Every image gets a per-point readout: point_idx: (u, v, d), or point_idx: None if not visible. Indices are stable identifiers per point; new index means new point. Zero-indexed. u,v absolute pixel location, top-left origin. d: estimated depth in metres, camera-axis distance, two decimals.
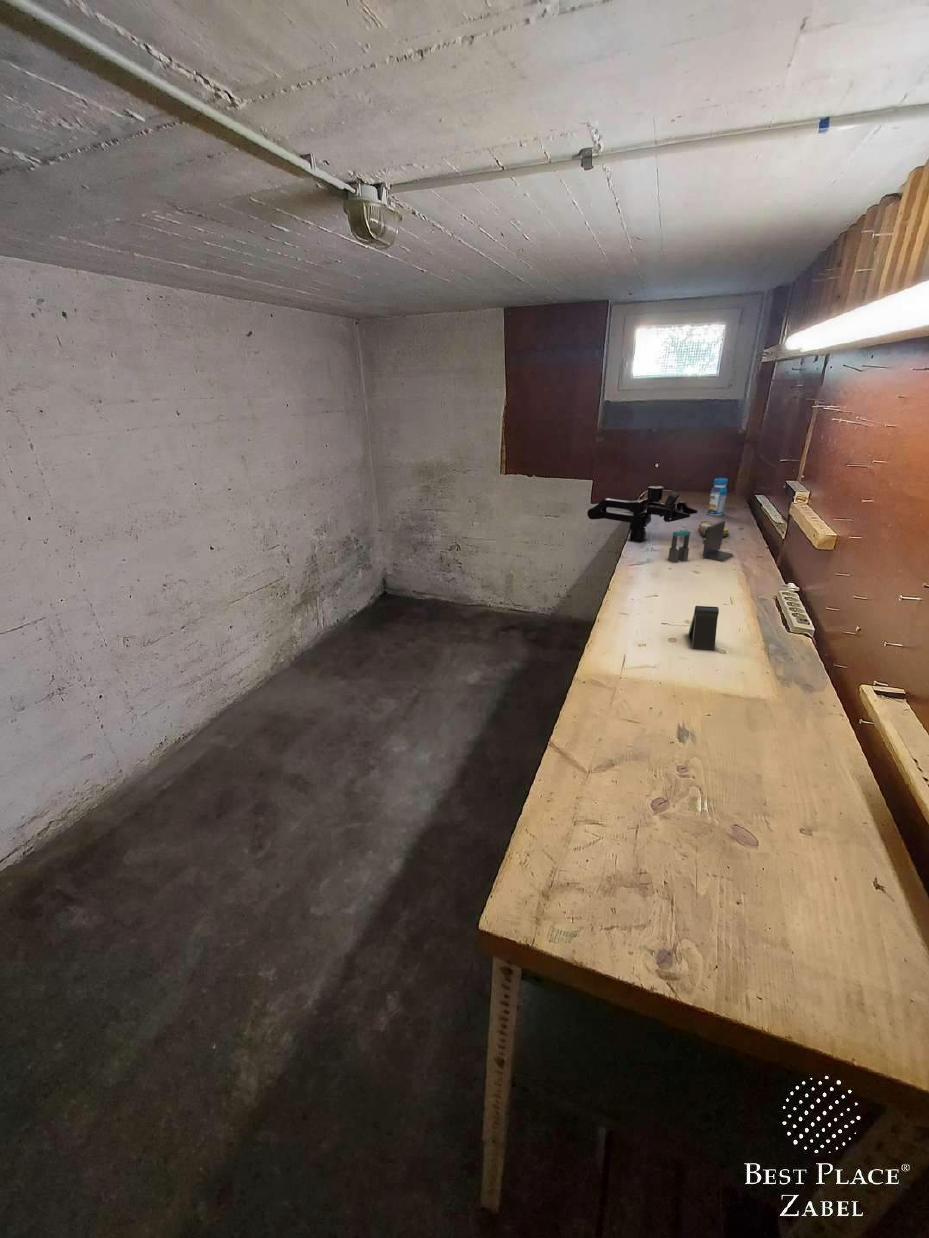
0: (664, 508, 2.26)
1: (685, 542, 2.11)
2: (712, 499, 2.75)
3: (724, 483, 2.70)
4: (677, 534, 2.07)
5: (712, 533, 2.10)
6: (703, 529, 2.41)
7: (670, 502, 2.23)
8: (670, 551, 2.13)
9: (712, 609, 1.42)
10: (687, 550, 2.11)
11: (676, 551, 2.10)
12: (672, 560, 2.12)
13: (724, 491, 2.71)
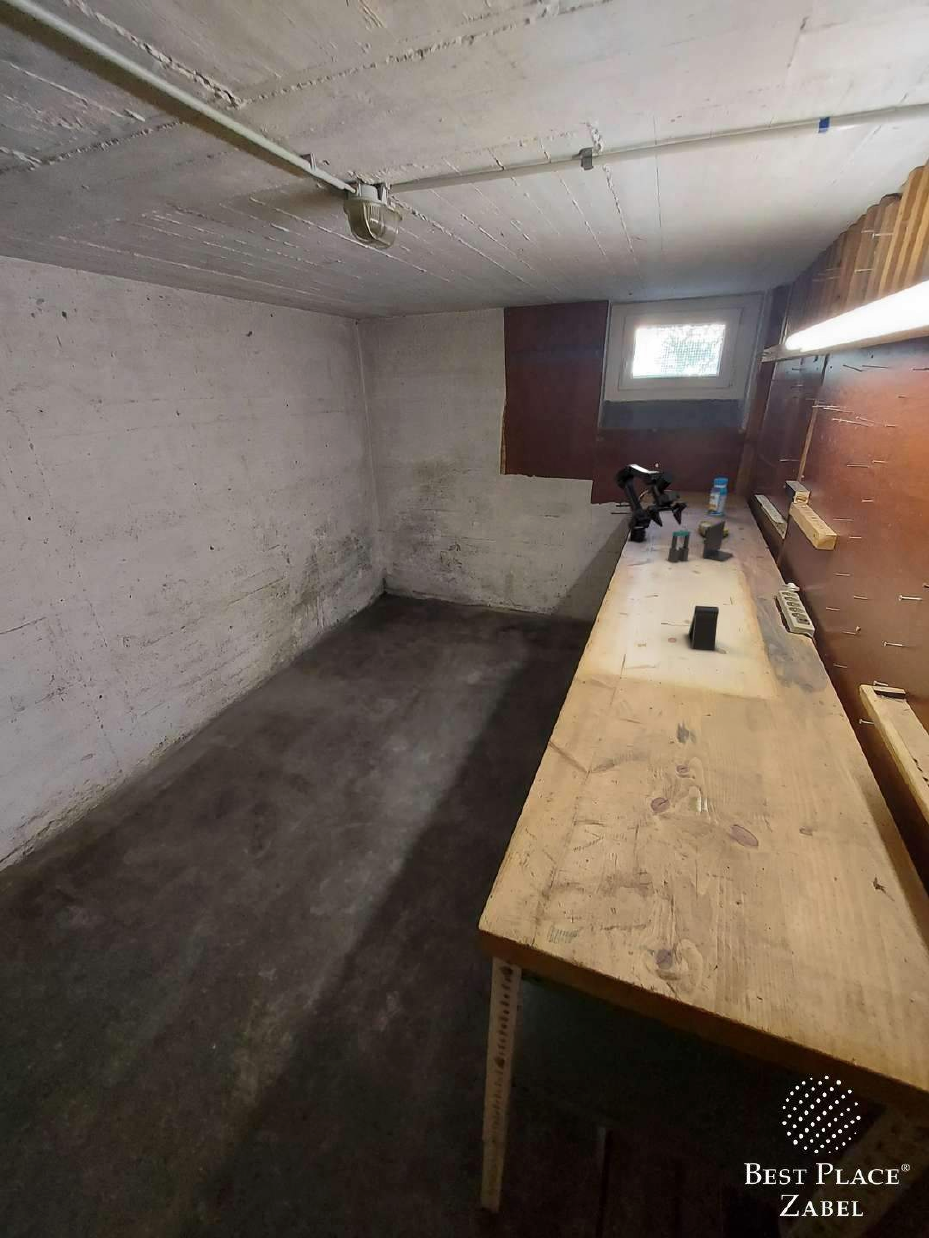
0: (658, 500, 2.18)
1: (685, 542, 2.11)
2: (712, 499, 2.75)
3: (724, 483, 2.70)
4: (677, 534, 2.07)
5: (712, 533, 2.10)
6: (703, 529, 2.41)
7: (663, 500, 2.14)
8: (670, 551, 2.13)
9: (712, 609, 1.42)
10: (687, 550, 2.11)
11: (676, 551, 2.10)
12: (672, 560, 2.12)
13: (724, 491, 2.71)
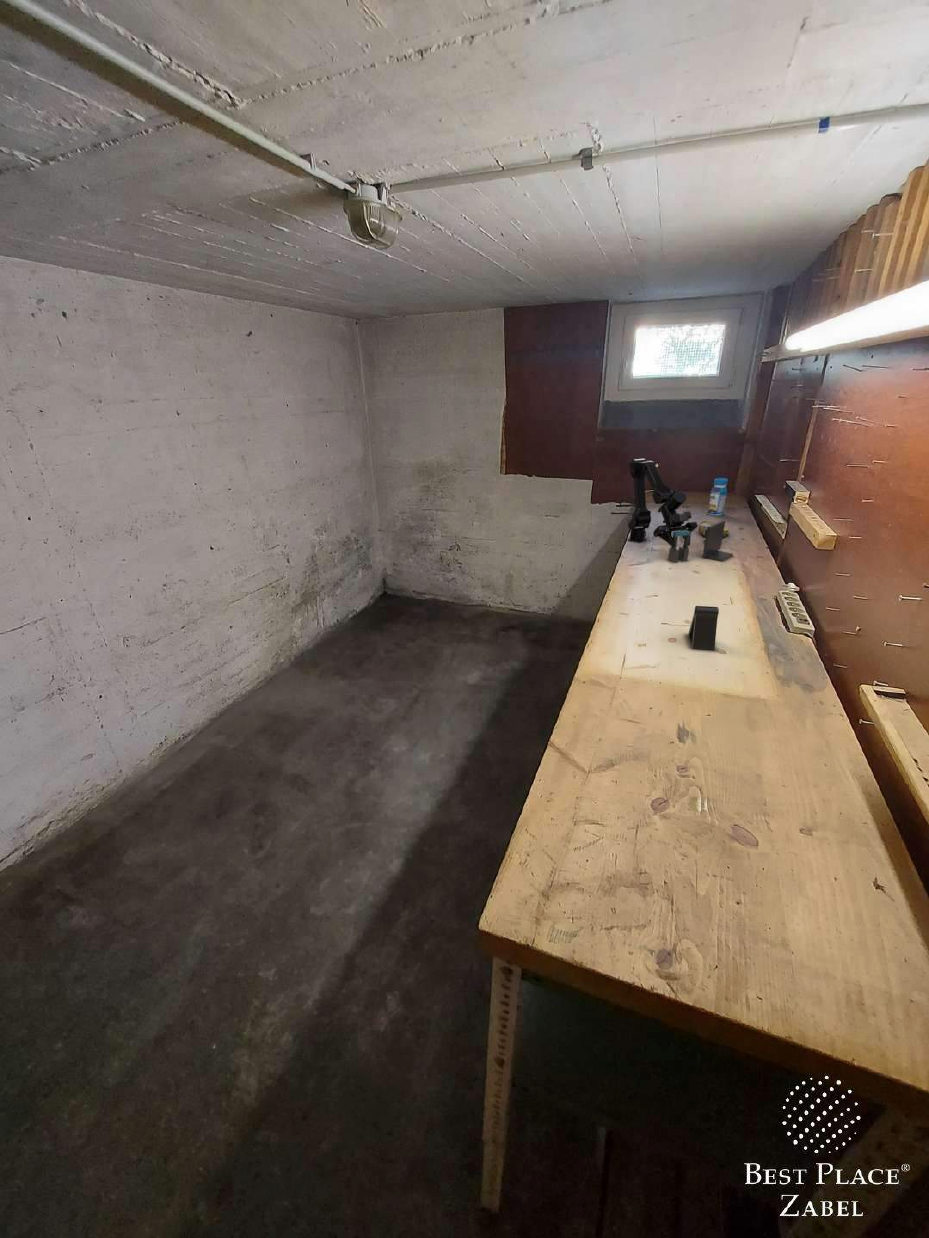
0: (668, 520, 2.12)
1: (685, 542, 2.11)
2: (712, 499, 2.75)
3: (724, 483, 2.70)
4: (677, 534, 2.07)
5: (712, 533, 2.10)
6: (703, 529, 2.41)
7: (674, 520, 2.09)
8: (670, 551, 2.13)
9: (712, 609, 1.42)
10: (687, 550, 2.11)
11: (676, 551, 2.10)
12: (672, 560, 2.12)
13: (724, 491, 2.71)
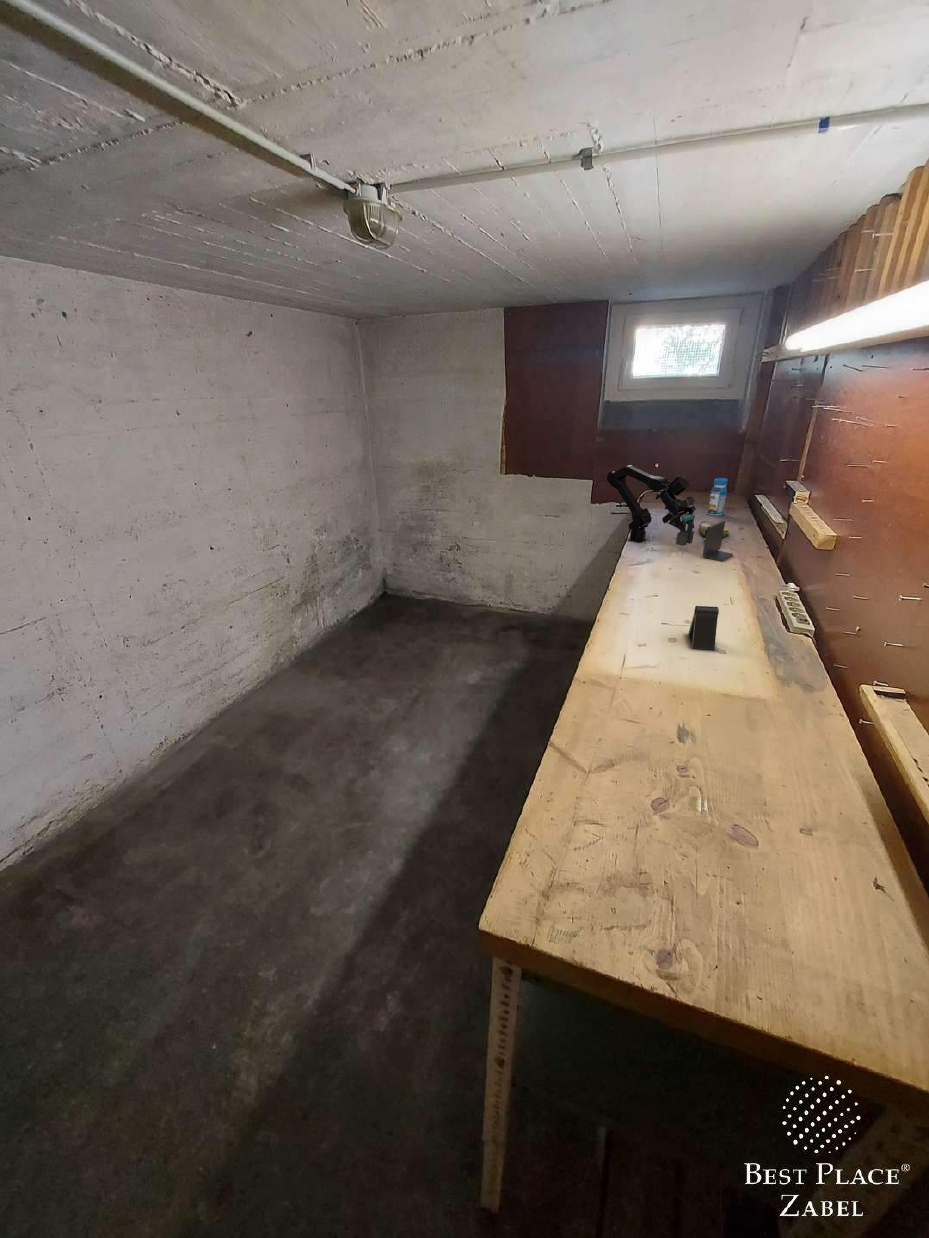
0: (673, 506, 2.20)
1: (690, 525, 2.21)
2: (712, 499, 2.75)
3: (724, 483, 2.70)
4: (687, 518, 2.16)
5: (712, 533, 2.10)
6: (703, 529, 2.41)
7: (681, 506, 2.17)
8: (679, 535, 2.21)
9: (712, 609, 1.42)
10: (692, 533, 2.22)
11: (686, 535, 2.19)
12: (682, 544, 2.21)
13: (724, 491, 2.71)
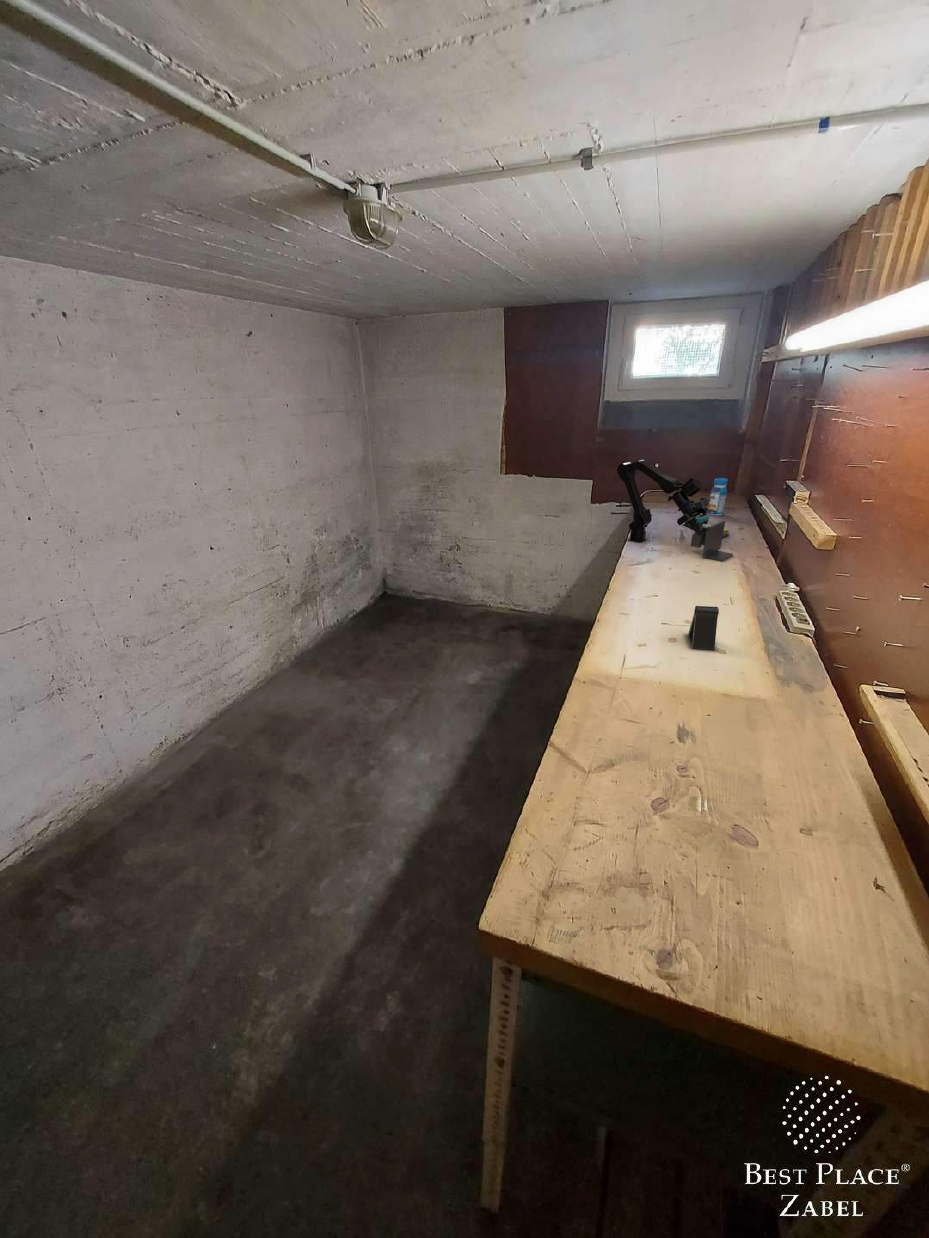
0: (687, 507, 2.17)
1: None
2: (712, 499, 2.75)
3: (724, 483, 2.70)
4: (702, 519, 2.13)
5: (712, 533, 2.10)
6: None
7: (695, 507, 2.14)
8: (693, 537, 2.18)
9: (712, 609, 1.42)
10: None
11: (701, 536, 2.16)
12: (697, 545, 2.18)
13: (724, 491, 2.71)
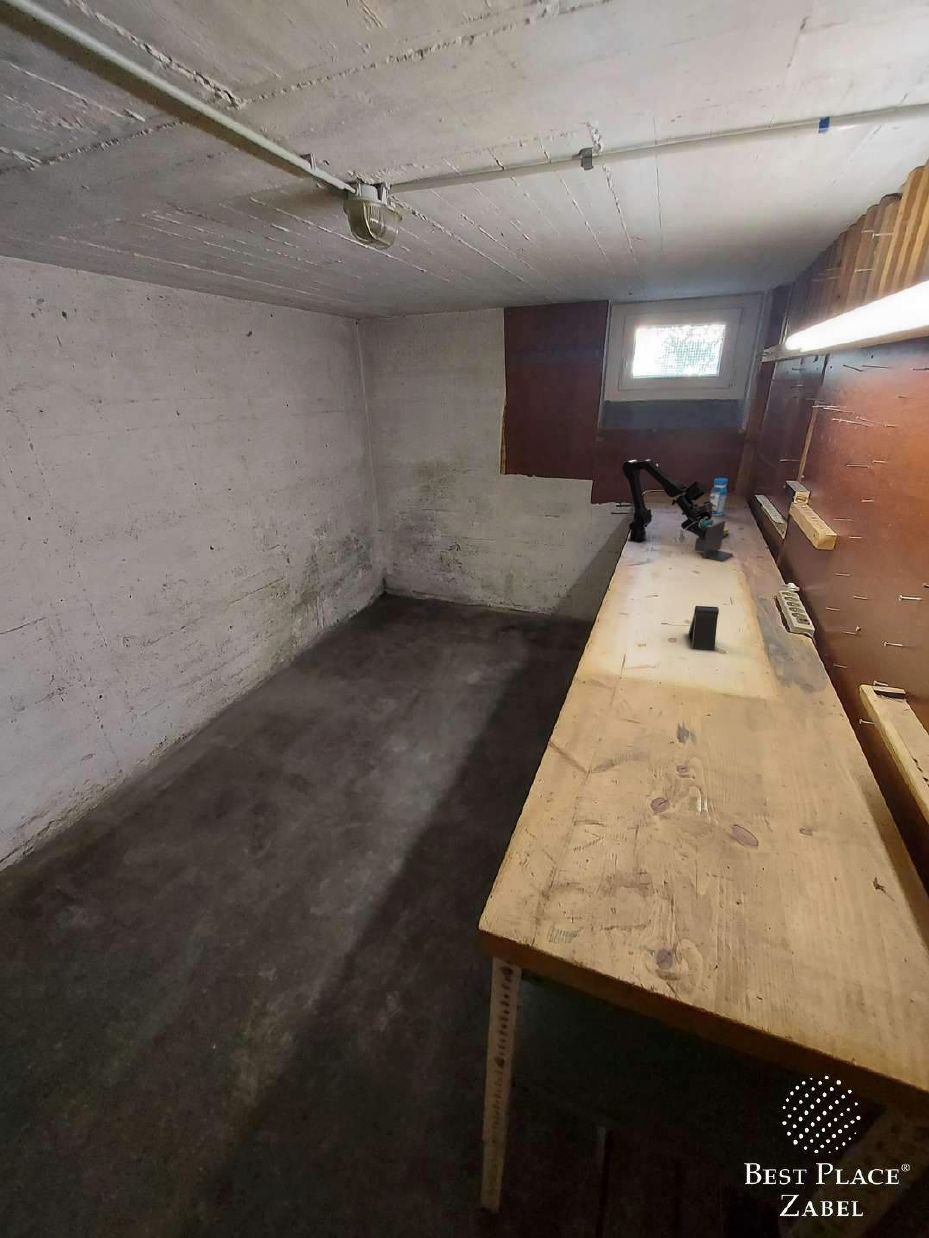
0: (691, 511, 2.16)
1: None
2: (712, 499, 2.75)
3: (724, 483, 2.70)
4: (706, 523, 2.12)
5: (712, 533, 2.10)
6: None
7: (700, 511, 2.13)
8: (698, 541, 2.17)
9: (712, 609, 1.42)
10: None
11: None
12: (701, 550, 2.17)
13: (724, 491, 2.71)
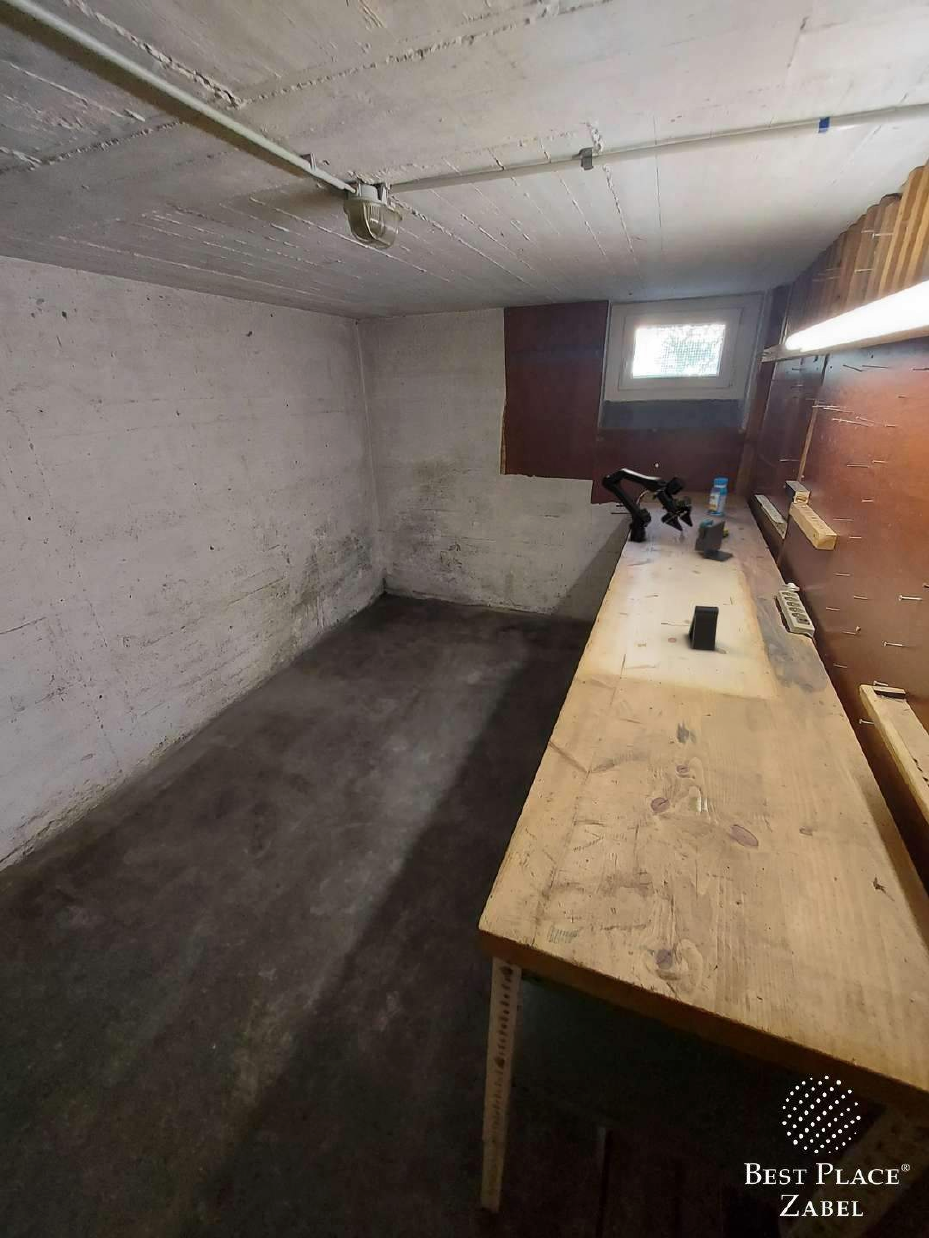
0: (670, 505, 2.22)
1: None
2: (712, 499, 2.75)
3: (724, 483, 2.70)
4: (706, 523, 2.12)
5: (712, 533, 2.10)
6: None
7: (679, 505, 2.19)
8: (698, 541, 2.17)
9: (712, 609, 1.42)
10: None
11: None
12: (701, 550, 2.17)
13: (724, 491, 2.71)
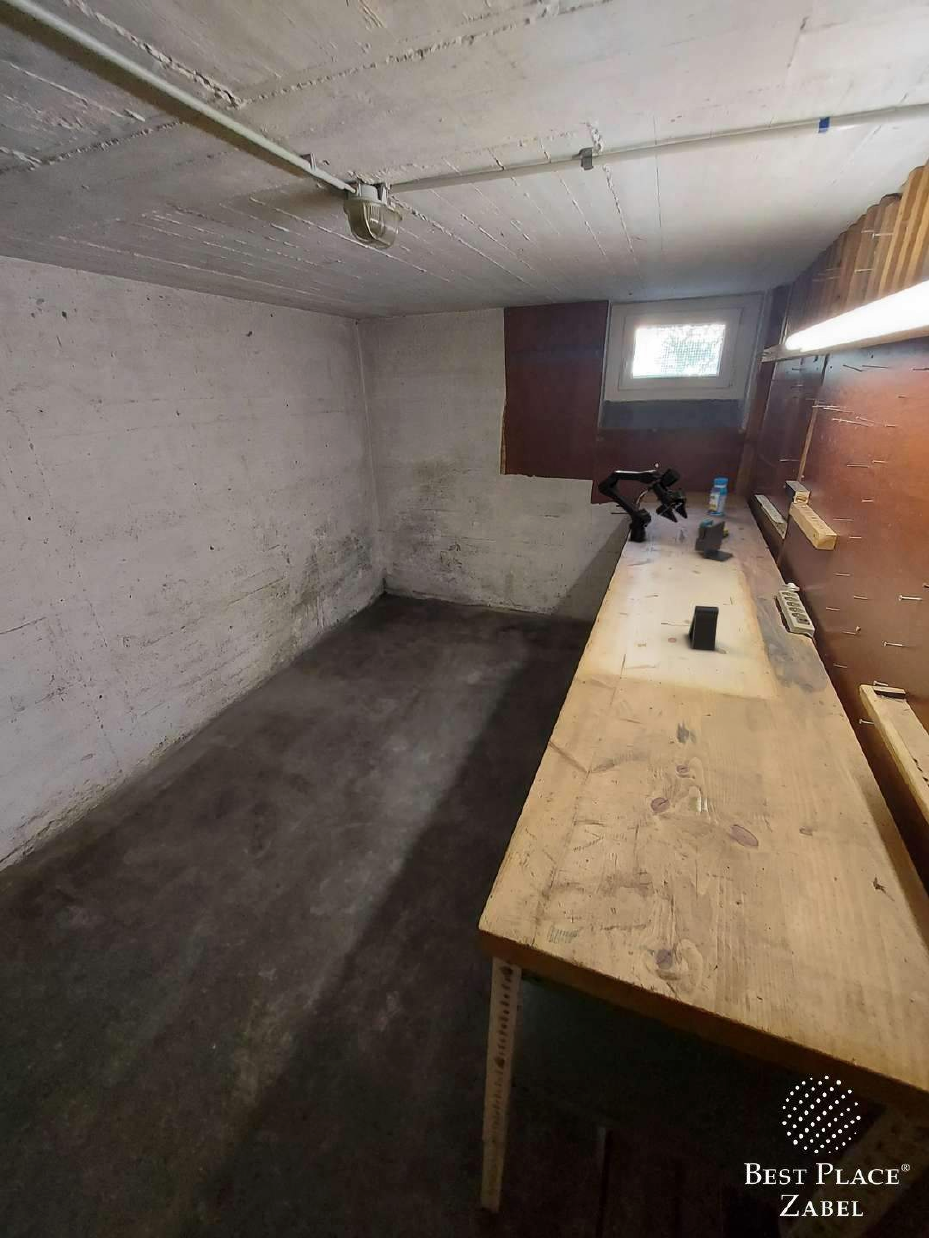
0: (665, 497, 2.23)
1: None
2: (712, 499, 2.75)
3: (724, 483, 2.70)
4: (706, 523, 2.12)
5: (712, 533, 2.10)
6: None
7: (673, 497, 2.20)
8: (698, 541, 2.17)
9: (712, 609, 1.42)
10: None
11: None
12: (701, 550, 2.17)
13: (724, 491, 2.71)
